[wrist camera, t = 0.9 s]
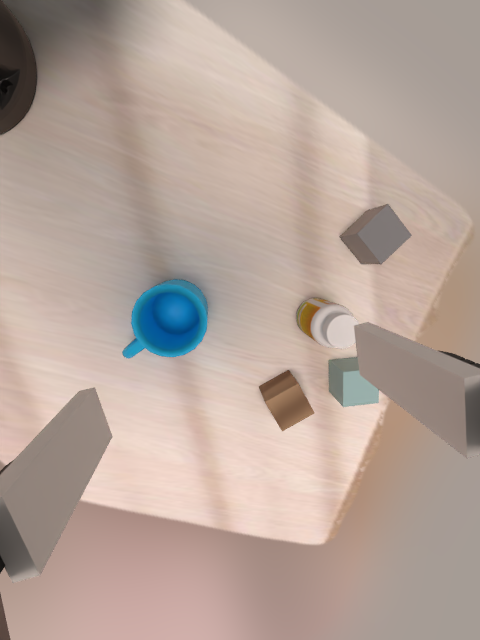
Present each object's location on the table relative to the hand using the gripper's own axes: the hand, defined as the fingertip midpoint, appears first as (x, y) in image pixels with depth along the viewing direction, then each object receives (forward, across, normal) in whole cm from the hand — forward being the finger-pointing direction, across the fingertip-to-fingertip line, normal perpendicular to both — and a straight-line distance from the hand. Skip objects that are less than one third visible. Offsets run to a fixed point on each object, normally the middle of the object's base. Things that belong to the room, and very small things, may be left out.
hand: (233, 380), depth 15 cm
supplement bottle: (+26, +13, -5) cm, 30 cm away
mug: (+27, -7, -1) cm, 28 cm away
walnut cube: (+26, +6, -16) cm, 31 cm away
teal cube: (+26, +16, -15) cm, 34 cm away
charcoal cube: (+27, +22, +4) cm, 35 cm away
